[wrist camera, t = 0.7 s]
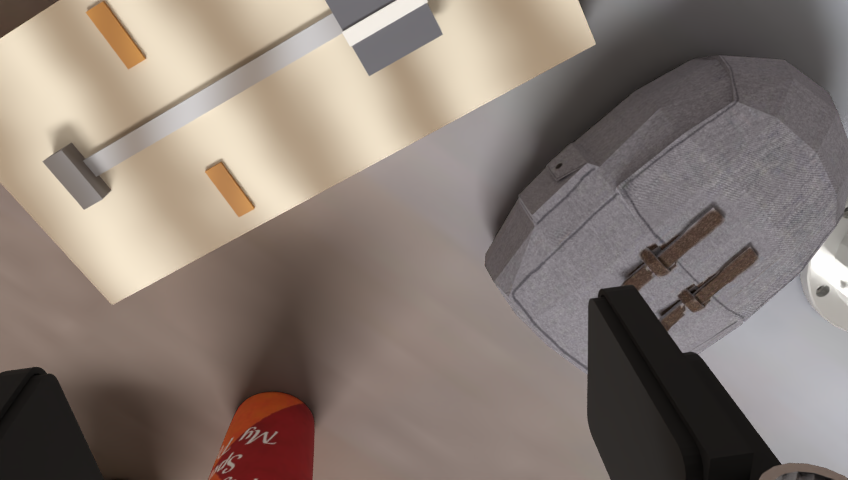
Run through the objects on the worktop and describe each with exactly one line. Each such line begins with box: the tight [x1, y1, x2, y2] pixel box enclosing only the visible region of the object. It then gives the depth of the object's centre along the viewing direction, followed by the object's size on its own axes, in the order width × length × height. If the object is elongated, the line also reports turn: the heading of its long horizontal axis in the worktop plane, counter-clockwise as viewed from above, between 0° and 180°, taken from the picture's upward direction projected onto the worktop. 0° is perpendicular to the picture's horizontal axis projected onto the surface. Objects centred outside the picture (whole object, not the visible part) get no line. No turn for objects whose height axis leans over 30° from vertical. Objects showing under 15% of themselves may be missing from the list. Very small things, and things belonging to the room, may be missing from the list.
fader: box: [325, 0, 443, 76], centre depth 27 cm, size 3×5×7 cm, turn 28°
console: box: [0, 0, 596, 305], centre depth 33 cm, size 30×14×4 cm, turn 118°
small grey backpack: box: [485, 55, 848, 375], centre depth 36 cm, size 15×8×20 cm
